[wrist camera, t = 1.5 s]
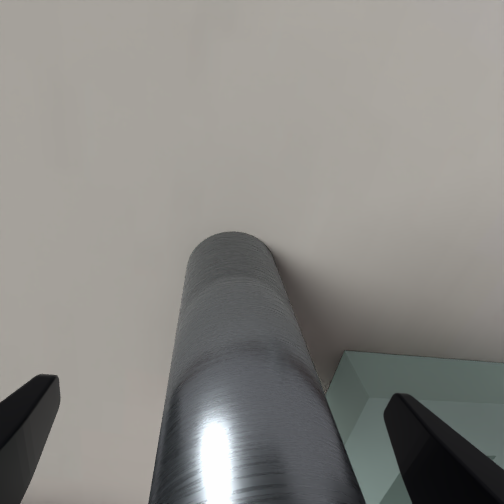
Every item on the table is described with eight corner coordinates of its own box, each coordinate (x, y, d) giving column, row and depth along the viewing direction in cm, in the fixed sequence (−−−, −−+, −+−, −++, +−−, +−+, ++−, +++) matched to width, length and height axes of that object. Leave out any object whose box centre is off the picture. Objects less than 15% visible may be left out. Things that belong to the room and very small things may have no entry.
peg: (264, 312, 15) (336, 612, 6) (182, 304, 14) (130, 631, 6) (284, 238, 14) (420, 504, 5) (192, 225, 13) (143, 510, 4)
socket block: (446, 492, 25) (473, 538, 23) (283, 495, 23) (292, 547, 20) (547, 366, 20) (600, 408, 17) (344, 350, 17) (369, 397, 14)
